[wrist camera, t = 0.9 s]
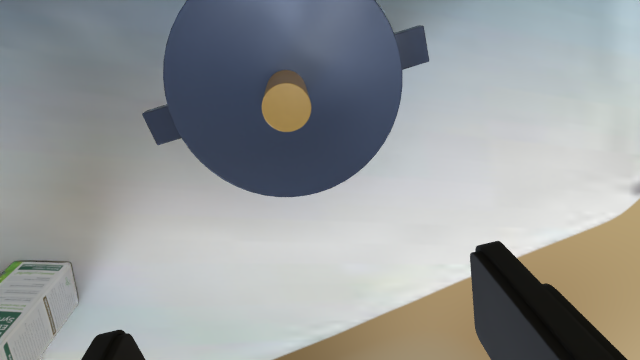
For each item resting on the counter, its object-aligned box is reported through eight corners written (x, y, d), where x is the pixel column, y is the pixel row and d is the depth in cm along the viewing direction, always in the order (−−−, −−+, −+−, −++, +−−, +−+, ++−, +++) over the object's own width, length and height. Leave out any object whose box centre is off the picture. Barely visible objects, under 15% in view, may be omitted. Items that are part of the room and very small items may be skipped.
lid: (124, 1, 23) (66, -6, 17) (370, -79, 22) (401, -116, 16) (221, 215, 29) (205, 266, 23) (416, 156, 29) (451, 193, 23)
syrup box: (71, 260, 41) (-33, 377, 27) (80, 304, 43) (-12, 431, 30) (14, 259, 40) (-121, 378, 27) (26, 303, 42) (-92, 434, 29)
